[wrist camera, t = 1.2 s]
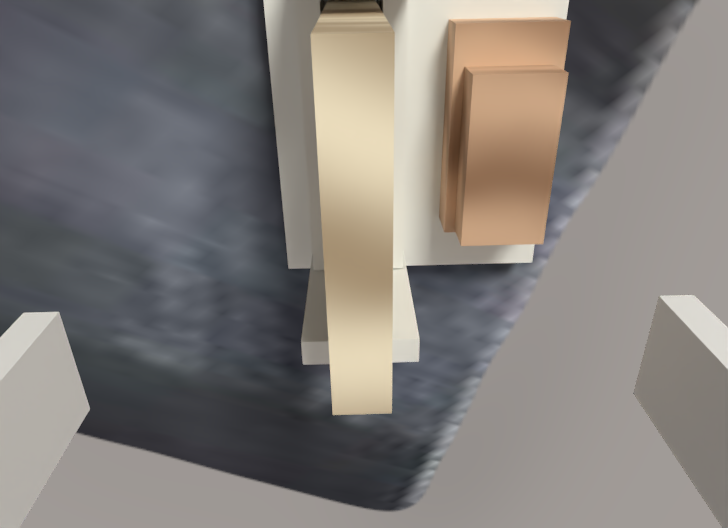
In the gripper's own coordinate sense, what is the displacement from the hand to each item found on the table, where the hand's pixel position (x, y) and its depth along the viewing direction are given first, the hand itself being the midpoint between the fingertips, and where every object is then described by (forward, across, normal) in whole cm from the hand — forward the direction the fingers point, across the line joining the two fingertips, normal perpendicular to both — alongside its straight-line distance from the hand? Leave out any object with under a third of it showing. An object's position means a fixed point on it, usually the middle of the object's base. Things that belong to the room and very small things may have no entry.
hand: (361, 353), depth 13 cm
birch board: (+18, 0, 0) cm, 18 cm away
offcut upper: (+16, +7, 0) cm, 18 cm away
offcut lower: (+18, +7, 0) cm, 19 cm away
